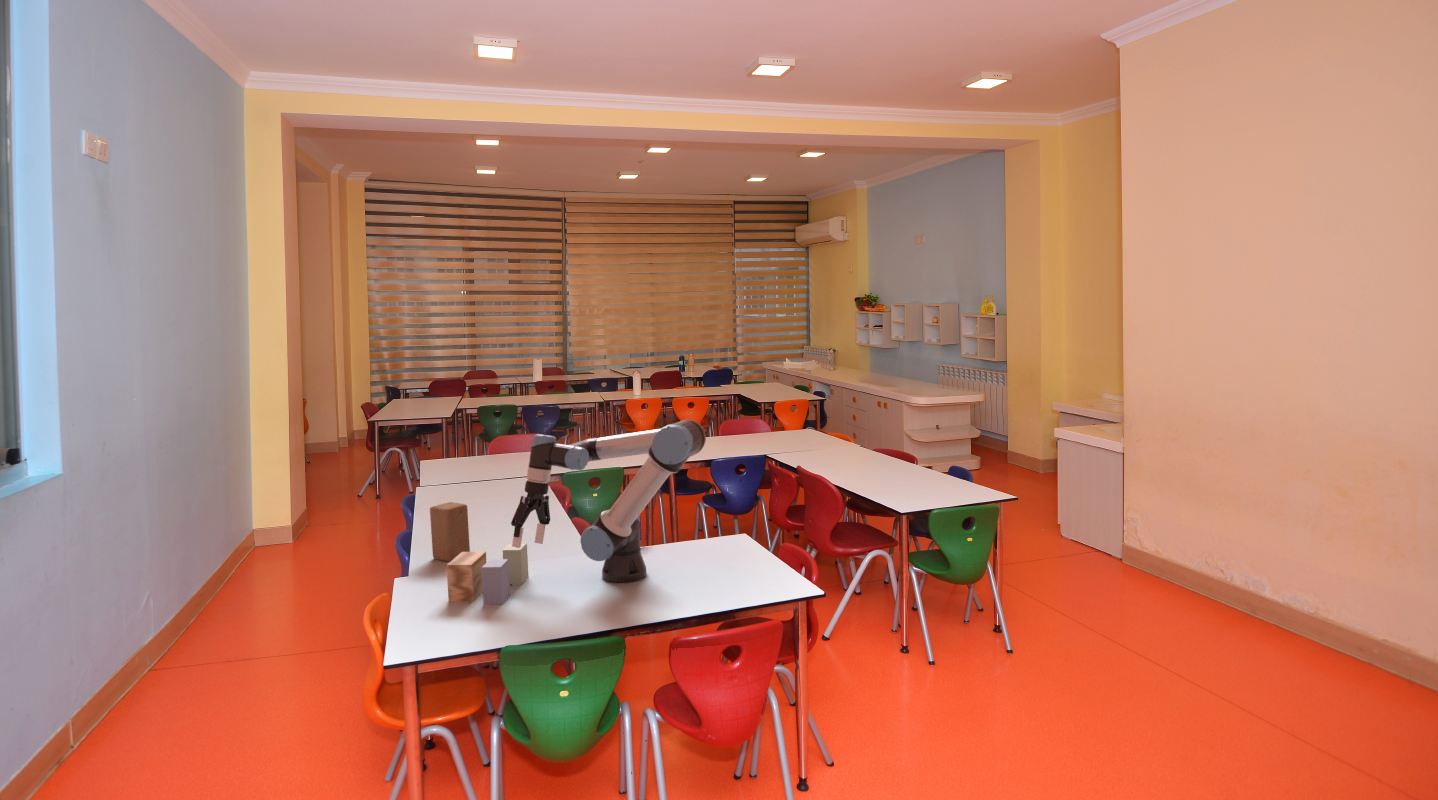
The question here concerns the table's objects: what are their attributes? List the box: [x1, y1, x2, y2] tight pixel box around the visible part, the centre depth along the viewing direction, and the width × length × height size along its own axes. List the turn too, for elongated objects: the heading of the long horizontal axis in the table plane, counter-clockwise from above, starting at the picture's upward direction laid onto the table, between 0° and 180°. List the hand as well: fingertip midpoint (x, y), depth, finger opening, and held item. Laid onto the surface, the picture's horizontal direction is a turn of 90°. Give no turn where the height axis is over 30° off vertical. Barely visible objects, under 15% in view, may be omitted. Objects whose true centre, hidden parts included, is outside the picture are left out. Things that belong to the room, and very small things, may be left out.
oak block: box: [446, 551, 488, 603], centre depth 254 cm, size 8×14×12 cm, turn 179°
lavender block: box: [482, 558, 511, 606], centre depth 247 cm, size 6×8×12 cm
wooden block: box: [429, 501, 471, 563], centre depth 294 cm, size 10×10×20 cm
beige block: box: [502, 542, 530, 586], centre depth 265 cm, size 6×8×12 cm
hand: (527, 545), depth 258 cm, fingers open, 13 cm apart
